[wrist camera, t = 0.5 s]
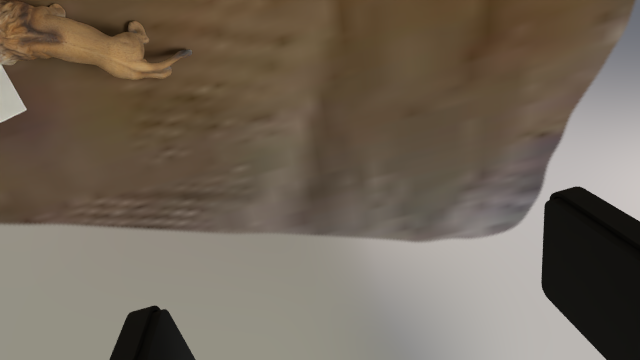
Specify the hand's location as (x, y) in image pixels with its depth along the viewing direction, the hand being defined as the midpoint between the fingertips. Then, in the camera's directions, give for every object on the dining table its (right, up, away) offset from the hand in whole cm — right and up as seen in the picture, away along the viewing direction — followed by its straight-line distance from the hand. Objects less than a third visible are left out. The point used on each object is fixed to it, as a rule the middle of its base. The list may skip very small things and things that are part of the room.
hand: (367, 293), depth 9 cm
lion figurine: (-20, +15, +24) cm, 35 cm away
